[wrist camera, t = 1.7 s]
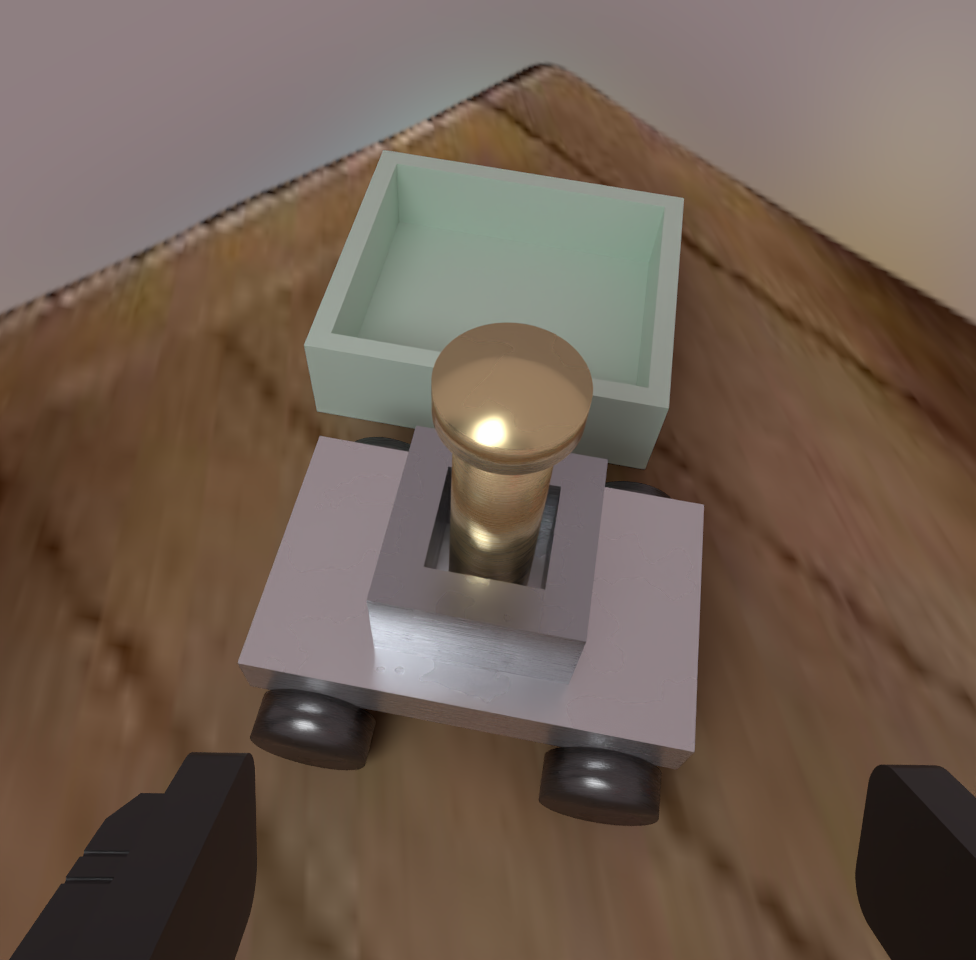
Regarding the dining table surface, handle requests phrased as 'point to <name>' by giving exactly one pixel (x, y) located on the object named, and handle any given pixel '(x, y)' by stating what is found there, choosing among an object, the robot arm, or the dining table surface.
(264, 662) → the trolley
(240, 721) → the dining table surface
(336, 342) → the tray
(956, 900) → the robot arm
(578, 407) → the pin
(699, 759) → the dining table surface
